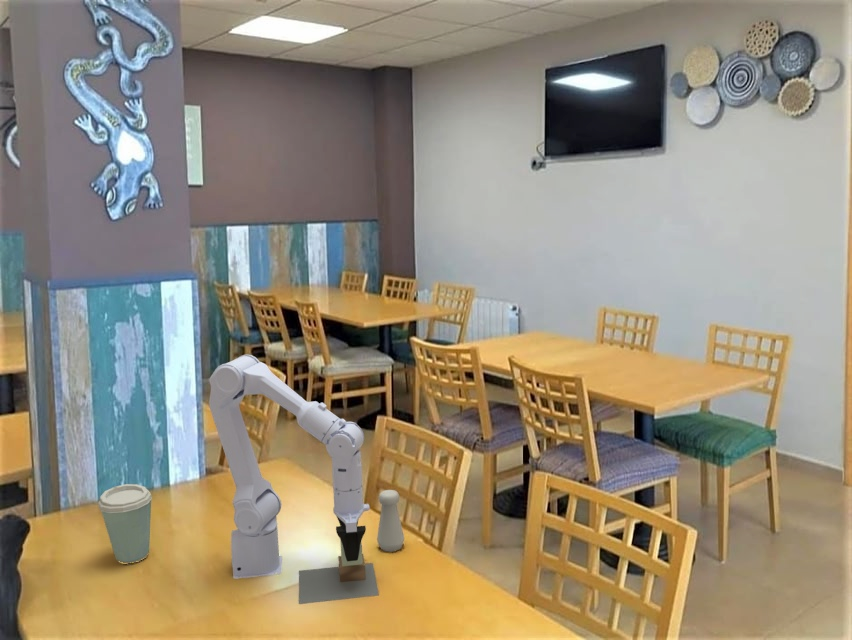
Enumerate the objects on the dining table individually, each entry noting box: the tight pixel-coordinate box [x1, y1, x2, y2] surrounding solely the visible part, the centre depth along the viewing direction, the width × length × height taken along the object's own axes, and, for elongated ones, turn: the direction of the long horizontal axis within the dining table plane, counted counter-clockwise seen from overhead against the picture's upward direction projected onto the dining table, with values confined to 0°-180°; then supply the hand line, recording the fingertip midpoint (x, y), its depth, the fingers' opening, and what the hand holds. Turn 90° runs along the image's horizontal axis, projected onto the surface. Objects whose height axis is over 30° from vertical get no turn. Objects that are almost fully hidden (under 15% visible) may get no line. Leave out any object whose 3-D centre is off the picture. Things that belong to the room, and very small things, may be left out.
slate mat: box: [298, 562, 380, 605], centre depth 151 cm, size 15×13×1 cm
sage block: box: [339, 538, 363, 566], centre depth 153 cm, size 4×4×4 cm
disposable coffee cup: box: [97, 483, 153, 563], centre depth 164 cm, size 11×11×15 cm
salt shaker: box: [376, 489, 405, 553], centre depth 165 cm, size 6×6×13 cm
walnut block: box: [337, 553, 366, 582], centre depth 154 cm, size 5×5×3 cm
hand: (351, 551), depth 153 cm, fingers open, 7 cm apart
